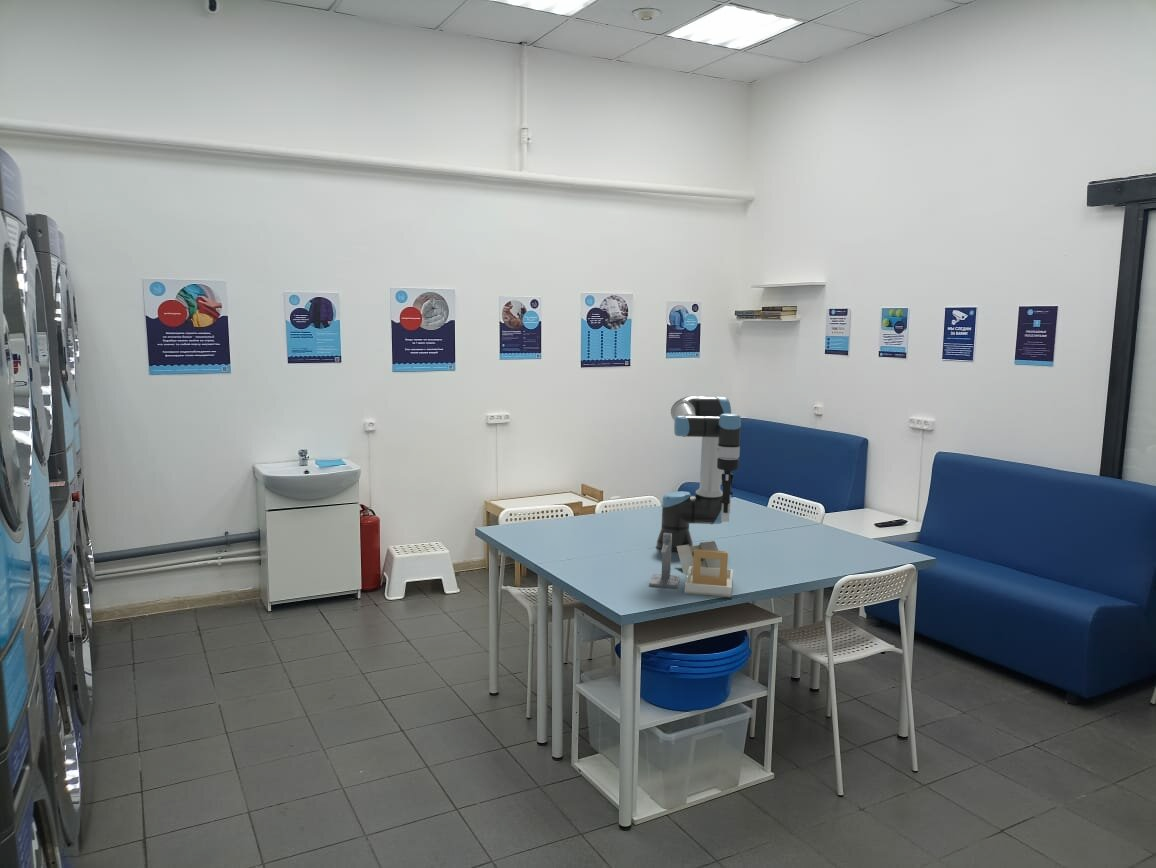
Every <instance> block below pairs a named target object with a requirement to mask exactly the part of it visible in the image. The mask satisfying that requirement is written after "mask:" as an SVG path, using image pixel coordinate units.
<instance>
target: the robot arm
mask: <svg viewBox="0 0 1156 868" xmlns="http://www.w3.org/2000/svg"><path fill="white" fill-rule="evenodd" d="M670 415H671V418H672V420H673V422H674V423H673V425H674V427H673V428H674V429H673V430H674V431H673V433H674V435H675V436H676V437H683V438H686V437H687V438H690V437H693V438H694V437H695V438H701V450H700V452H701V455H700V474H699V488H698V489H696V490H695V495H691V492H690V491H682V490H681V491H672V492H667V493H666V494H664V495H663V496H662V504H661V529H660V532H659V534H658V537H657V540H656V548H658V549H660V550H662V546H663V533H672V545H671V552H678V550H677V546H680V545H688V544H689V546H694V544H693V538H692V535H691V532H690V524H695V525H696V524H698V525H699V524H702V525H720V524H722V523H729V522H730V514H731V502H732V501H731V499H732V498H731V497H732V496H733V493H734V492H733V491H732V486H733V480H734V474H733V473H732V471H738V470H739V468H740V466H739V465H740V459H739V458H740V452H741V448H740V447H741V446H740V443H741V441H740V440H741V427H742V422H741V421H742V420H741V418H742V417H741V415H740V414H736V413H732V407H731V402H730V399H729V398H727V397H726V396H717V395H710V396H709V395H689V396H685V397H682V398H680V399H678V400H676V401H675V402H674V404H672V407H671V409H670ZM722 471H723V472H724V473H723V472H722ZM721 486H722V489H721Z"/></svg>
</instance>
